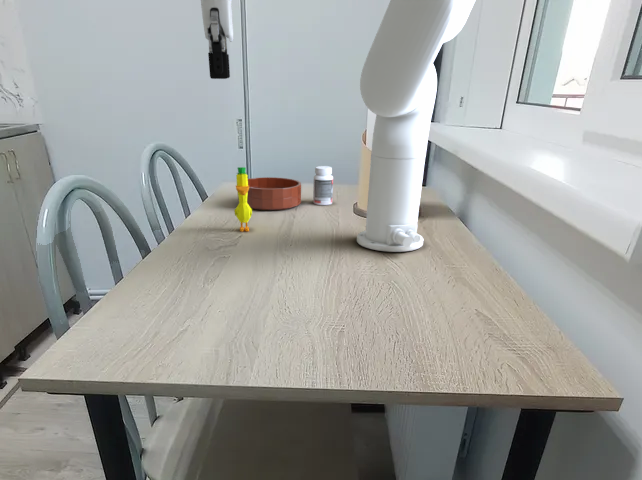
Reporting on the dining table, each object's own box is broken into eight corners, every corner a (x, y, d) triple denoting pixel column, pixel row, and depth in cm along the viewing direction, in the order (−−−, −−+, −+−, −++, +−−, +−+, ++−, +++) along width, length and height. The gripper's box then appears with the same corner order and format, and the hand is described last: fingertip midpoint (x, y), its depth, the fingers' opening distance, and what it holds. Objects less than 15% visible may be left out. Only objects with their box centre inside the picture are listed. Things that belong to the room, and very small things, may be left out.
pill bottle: (335, 204, 129) (337, 168, 125) (317, 206, 128) (318, 169, 123) (327, 200, 133) (328, 165, 129) (310, 202, 131) (310, 166, 127)
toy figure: (253, 234, 105) (251, 170, 99) (235, 235, 105) (232, 170, 98) (252, 226, 111) (250, 164, 105) (235, 226, 110) (231, 165, 104)
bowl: (308, 209, 124) (309, 187, 122) (245, 213, 120) (244, 190, 118) (290, 196, 137) (290, 176, 134) (232, 199, 133) (231, 178, 130)
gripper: (233, -45, 84) (239, 79, 93) (236, -28, 99) (241, 78, 108) (185, -46, 83) (196, 78, 92) (195, -29, 98) (204, 77, 107)
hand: (220, 78), depth 100 cm, fingers open, 9 cm apart
